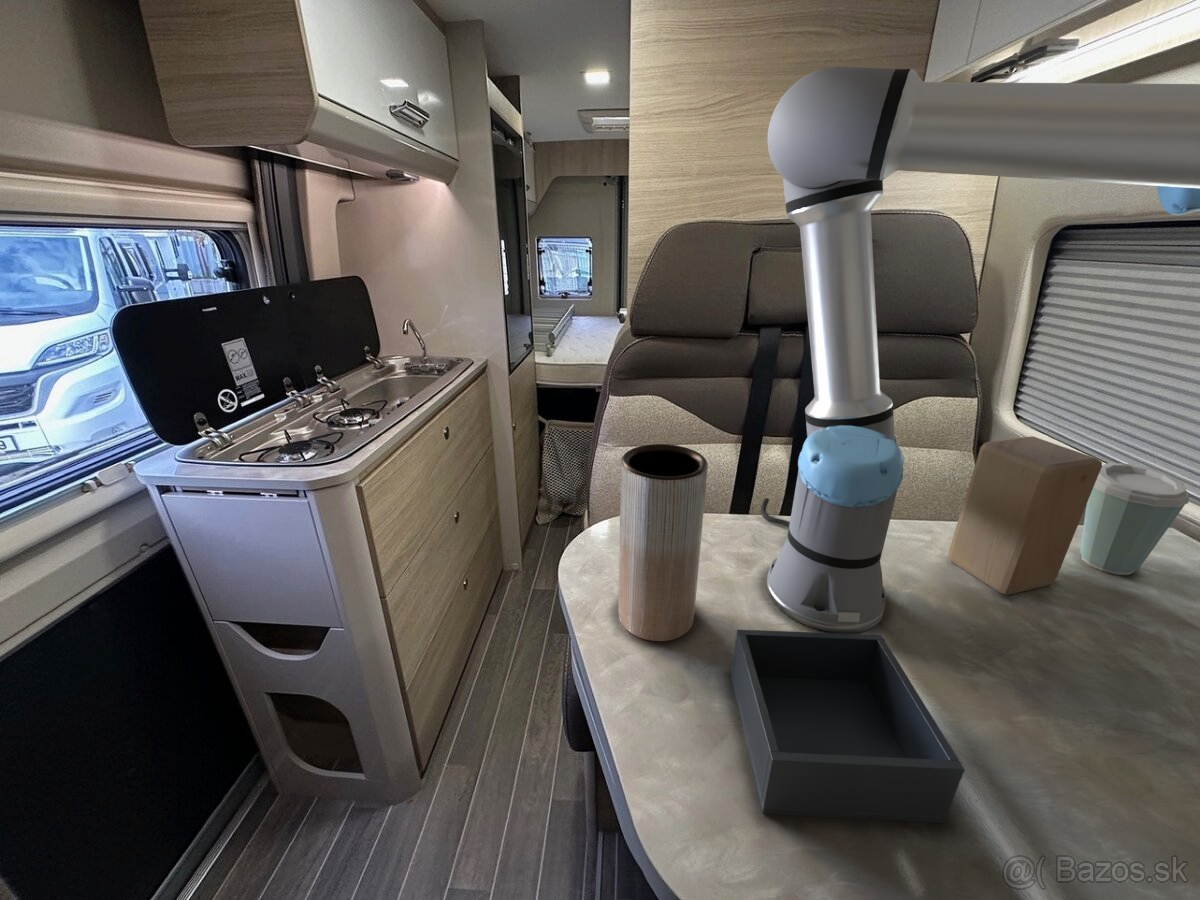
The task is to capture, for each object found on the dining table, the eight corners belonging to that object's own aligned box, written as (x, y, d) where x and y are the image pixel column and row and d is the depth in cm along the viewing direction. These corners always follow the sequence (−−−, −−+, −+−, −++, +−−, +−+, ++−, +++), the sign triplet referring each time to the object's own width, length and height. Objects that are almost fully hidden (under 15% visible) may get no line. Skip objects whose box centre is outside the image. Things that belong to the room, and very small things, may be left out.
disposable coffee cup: (1167, 591, 76) (1214, 498, 70) (1074, 574, 79) (1112, 484, 73) (1131, 552, 85) (1170, 467, 79) (1049, 538, 88) (1080, 456, 83)
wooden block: (1056, 586, 77) (1109, 460, 69) (1004, 599, 74) (1052, 468, 66) (991, 549, 85) (1031, 433, 78) (943, 559, 83) (979, 440, 75)
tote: (730, 675, 61) (737, 629, 58) (869, 681, 60) (881, 634, 58) (762, 813, 47) (772, 760, 44) (944, 823, 46) (965, 769, 43)
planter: (607, 601, 73) (608, 449, 64) (672, 585, 76) (682, 439, 68) (636, 651, 65) (642, 484, 56) (708, 631, 68) (725, 470, 59)
